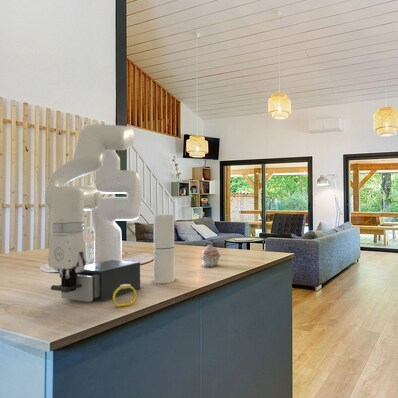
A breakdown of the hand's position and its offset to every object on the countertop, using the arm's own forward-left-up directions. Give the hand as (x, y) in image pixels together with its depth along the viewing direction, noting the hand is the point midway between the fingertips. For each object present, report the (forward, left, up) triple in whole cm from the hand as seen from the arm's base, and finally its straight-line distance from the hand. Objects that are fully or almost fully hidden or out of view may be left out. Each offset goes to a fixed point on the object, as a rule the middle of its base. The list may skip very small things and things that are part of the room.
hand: (68, 291), depth 94 cm
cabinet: (0, +13, -4) cm, 14 cm away
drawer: (0, +6, -3) cm, 7 cm away
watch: (+16, +5, -4) cm, 17 cm away
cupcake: (+8, +59, -4) cm, 60 cm away
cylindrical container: (+7, +31, -4) cm, 32 cm away
